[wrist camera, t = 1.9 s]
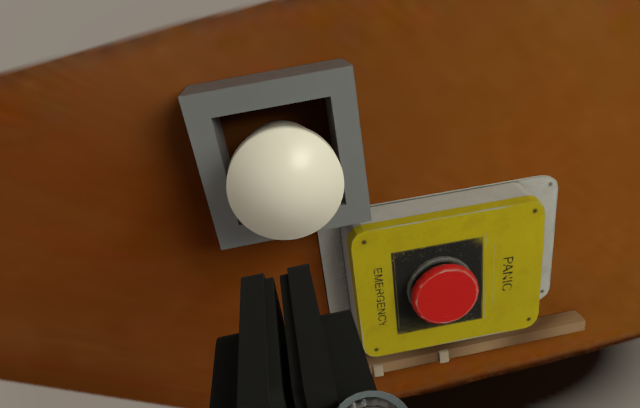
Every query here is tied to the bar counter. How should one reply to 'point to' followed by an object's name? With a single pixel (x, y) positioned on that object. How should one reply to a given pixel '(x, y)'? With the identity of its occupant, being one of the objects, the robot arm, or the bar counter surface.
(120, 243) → the bar counter surface
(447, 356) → the rail
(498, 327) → the emergency button
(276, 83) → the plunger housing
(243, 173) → the plunger
